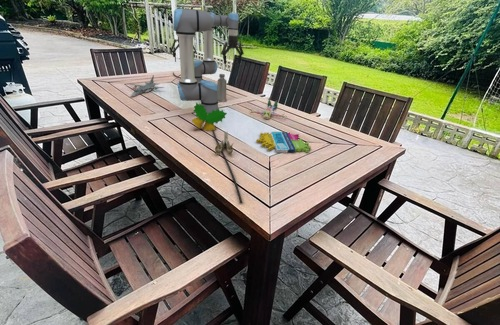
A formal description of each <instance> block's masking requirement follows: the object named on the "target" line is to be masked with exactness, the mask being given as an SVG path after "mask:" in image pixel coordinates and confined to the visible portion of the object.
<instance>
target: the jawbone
mask: <svg viewBox="0 0 500 325" xmlns="http://www.w3.org/2000/svg"><path fill="white" fill-rule="evenodd" d="M223 135H224V136H223V140H222V139H221V142H220V143H219V145H218V144H217V142H216V141H215V144H216V146H215V148H214V149H215V152H214V154H215V155H217V156H218V155H220V153H222V152H221V151H223V152H224V150H226V152H227V153H228V155H229V156H233V155H234V154H233V153H234V148H233V144H234V143H230V140H228V139H229V138H228V137H229V136H228V135H229V133H228V131H226V132H224V134H223Z"/></svg>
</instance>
